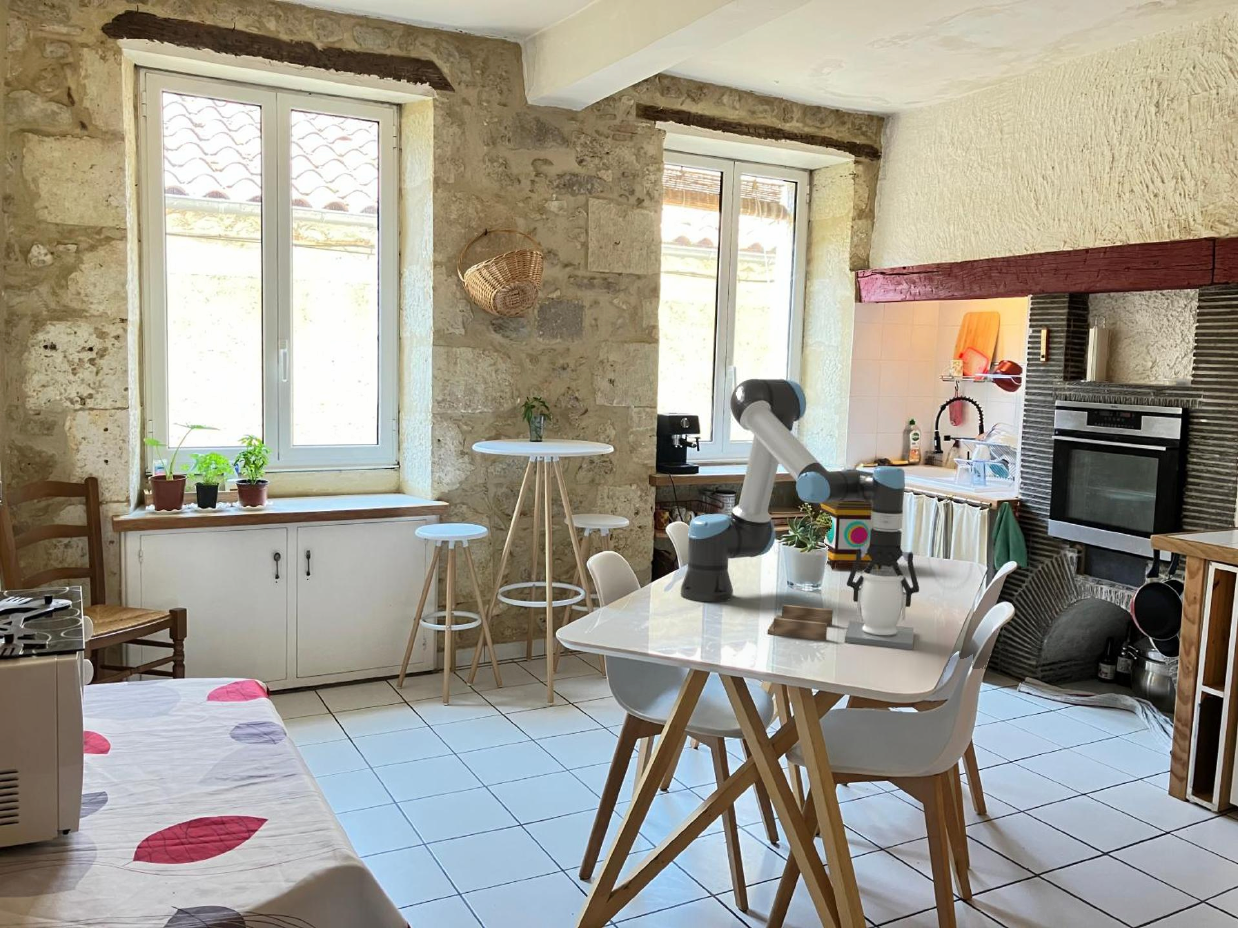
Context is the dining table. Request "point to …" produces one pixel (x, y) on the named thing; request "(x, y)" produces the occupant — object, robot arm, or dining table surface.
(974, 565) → the dining table surface
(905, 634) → the plate
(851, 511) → the decorative lantern
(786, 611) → the brown wooden u-shaped frame
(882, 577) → the jar
